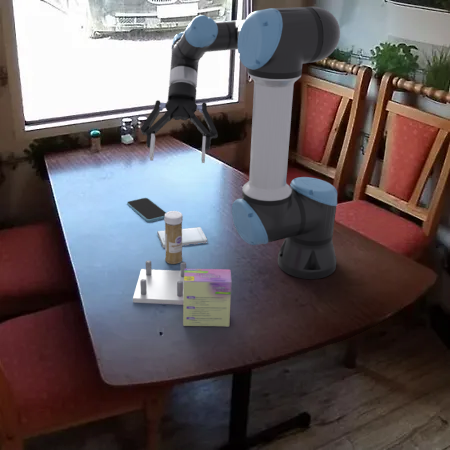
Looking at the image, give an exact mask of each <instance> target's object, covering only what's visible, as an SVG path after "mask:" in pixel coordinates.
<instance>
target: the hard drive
mask: <svg viewBox="0 0 450 450" xmlns="http://www.w3.org/2000/svg"><path fill="white" fill-rule="evenodd" d="M157 236H158V239H159V241H160V244H161V246H162V248H163V249H165V230H158V231H157ZM206 242H207V243H208V238H207V237H206V234H205V232H204V231H203V229H202V227H201V226H199V227H189V228H182V247H183V246H184V245H185V246H190V245H189V244H194V245H199V244H198V243H203V244H207V243H206Z"/></svg>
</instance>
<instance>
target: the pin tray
mask: <svg viewBox="0 0 450 450" xmlns="http://www.w3.org/2000/svg"><path fill="white" fill-rule="evenodd" d="M185 269H187V262H185V261H181V262H180V270H170V269H169V270H168V269H153V268H152V261H151V260H146V261H145V268H141V269H140V272H139V276H138V280H137V283H136V287H135V289H134V294H133V297H132V303H136V304H137V303H139V304H158V305H159V304H161V305H180V306H181V305H182V306H183V290H184V270H185Z"/></svg>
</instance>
